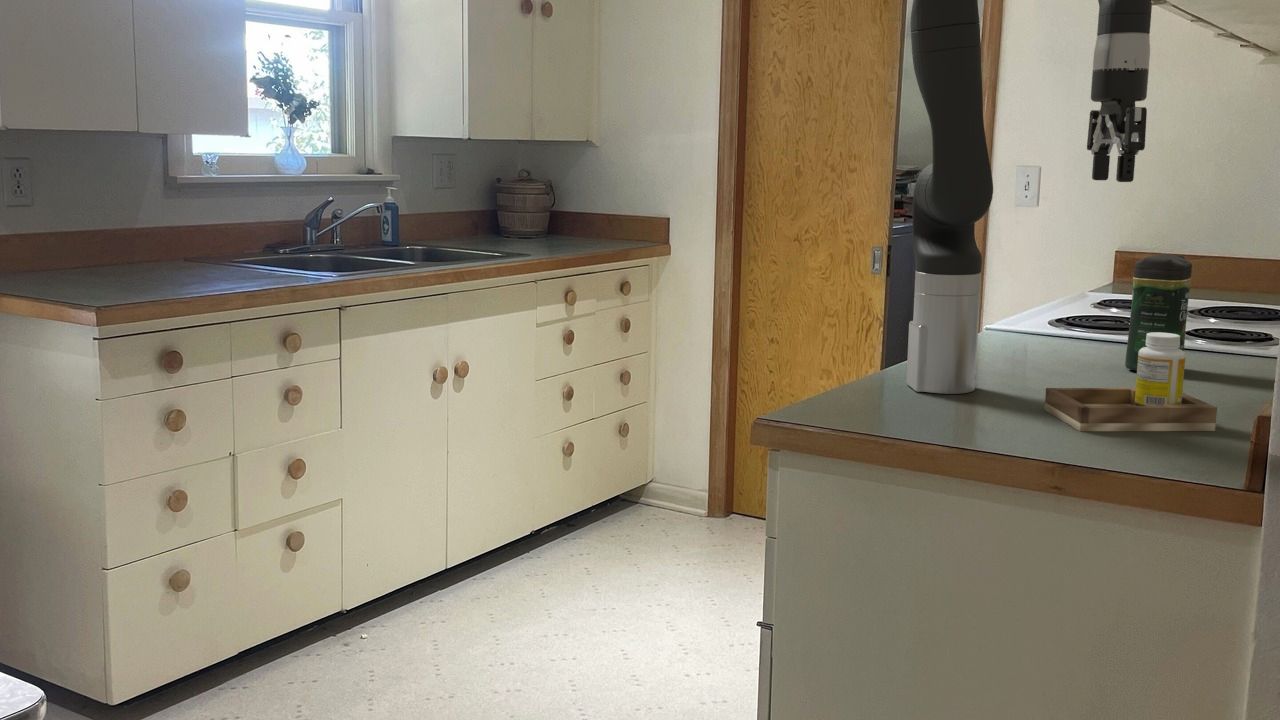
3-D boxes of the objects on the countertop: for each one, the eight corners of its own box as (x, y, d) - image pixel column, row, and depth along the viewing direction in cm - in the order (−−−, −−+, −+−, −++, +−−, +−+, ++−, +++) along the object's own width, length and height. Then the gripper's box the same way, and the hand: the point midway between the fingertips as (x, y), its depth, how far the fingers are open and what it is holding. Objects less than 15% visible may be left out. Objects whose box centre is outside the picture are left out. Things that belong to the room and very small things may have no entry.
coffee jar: (1172, 378, 175) (1182, 258, 171) (1119, 371, 180) (1128, 255, 176) (1188, 368, 182) (1199, 253, 179) (1137, 363, 187) (1146, 250, 184)
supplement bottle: (1165, 406, 150) (1172, 330, 148) (1189, 416, 145) (1196, 337, 143) (1125, 407, 150) (1131, 331, 148) (1147, 417, 144) (1154, 338, 142)
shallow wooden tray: (1079, 431, 141) (1081, 407, 141) (1044, 409, 153) (1046, 388, 152) (1214, 430, 141) (1217, 407, 141) (1169, 409, 153) (1171, 387, 153)
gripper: (1075, 71, 170) (1067, 180, 173) (1116, 63, 156) (1107, 182, 159) (1124, 71, 170) (1116, 180, 173) (1169, 64, 156) (1159, 182, 159)
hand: (1112, 181), depth 166 cm, fingers open, 8 cm apart
